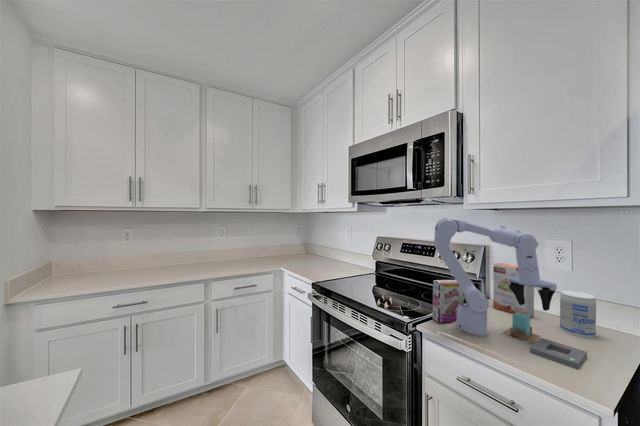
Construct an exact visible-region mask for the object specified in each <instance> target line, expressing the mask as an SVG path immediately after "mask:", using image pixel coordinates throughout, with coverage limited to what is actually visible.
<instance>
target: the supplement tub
mask: <svg viewBox="0 0 640 426" xmlns="http://www.w3.org/2000/svg"><path fill="white" fill-rule="evenodd" d="M596 298H597V297H596V296H595V295H593V294H590V293H587V292H586V293H585V292H581V291H577V290H576V291H575V290H562V291H560V300H559V301H560V302H559V329H560V330H561V331H563V332H565V333H567V334H570V335H573V336H577V337H582V338H595V337H596V334H597V333H596V332H597V328H596V327H597V299H596Z"/></svg>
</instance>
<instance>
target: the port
mask: <svg viewBox="0 0 640 426" xmlns="http://www.w3.org/2000/svg"><path fill="white" fill-rule="evenodd" d="M550 349H551V350H550ZM552 350H553V351H552ZM529 353H530V354H533V355H536V356H539V357H541V358H545V359H547V360H551V361H552V362H555V363H559V364H562V365H565V366H567V367H570V368H573V369H576V370H579V369H580V368H581V366H582V365H583V364H584V362H585V361H586V359H587V357H588V351H587V350H583V349H579V348H575V347H573V346H569V345H566V344H563V343H560V342H557V341H553V340H551V339H547V338H543V337H540V338H538V339H537V340H536V341H535V342H534V343H533V344H532V345H531V346H530V347H529Z"/></svg>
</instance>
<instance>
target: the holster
mask: <svg viewBox="0 0 640 426" xmlns="http://www.w3.org/2000/svg"><path fill="white" fill-rule="evenodd" d="M501 335H504V336H508V337H512V338H515V339H517V340H520V341H524V342H527V343H528V344H532V345H534V344H535V343H536V342H537V341H538V340H539V339H541V338H542V335H539V334H536V333H533V326H531V325H530V336H529V337H527V338H525V337H526V332H525V331H522V330H518V329H515V328H513V326H511V327H509V328H508V329H506V330H505V331H504V332H502V333H501Z"/></svg>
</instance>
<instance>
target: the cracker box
mask: <svg viewBox="0 0 640 426" xmlns="http://www.w3.org/2000/svg"><path fill="white" fill-rule="evenodd" d="M492 274H493V284H492V285H493V288H492V289H493V294H492V295H493V298H492V299H493V300H492V301H493V302H492V304H493V305H492V306H493V309H496V310H499V311H502V312H505V313H508V314H512V315H513V314H515V313H516V312H518V313H522V314H526V315H529V316H530V318H534V316H535V287H532V286H526V285H524V299H525V304H523V305H519V303H518V300H517V298H516V296H515V295H514V293H513V292H512V290H511V289H510V288H509V285H511V283H508V282H507V278H509V277H515V278H519V272H518V265H516V264H510V263H505V262H496V263H493V273H492Z"/></svg>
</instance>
